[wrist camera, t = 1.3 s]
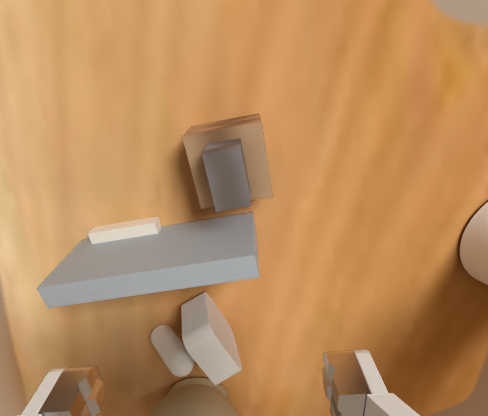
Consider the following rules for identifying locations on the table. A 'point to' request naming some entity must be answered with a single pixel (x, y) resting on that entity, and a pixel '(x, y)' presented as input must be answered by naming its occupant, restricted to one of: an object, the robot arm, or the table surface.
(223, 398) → the planter bowl
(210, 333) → the wall hook
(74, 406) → the robot arm
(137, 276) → the wall board
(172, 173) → the table surface
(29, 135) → the table surface
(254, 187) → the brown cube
